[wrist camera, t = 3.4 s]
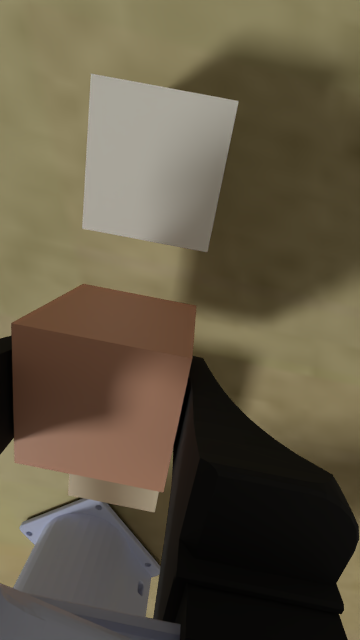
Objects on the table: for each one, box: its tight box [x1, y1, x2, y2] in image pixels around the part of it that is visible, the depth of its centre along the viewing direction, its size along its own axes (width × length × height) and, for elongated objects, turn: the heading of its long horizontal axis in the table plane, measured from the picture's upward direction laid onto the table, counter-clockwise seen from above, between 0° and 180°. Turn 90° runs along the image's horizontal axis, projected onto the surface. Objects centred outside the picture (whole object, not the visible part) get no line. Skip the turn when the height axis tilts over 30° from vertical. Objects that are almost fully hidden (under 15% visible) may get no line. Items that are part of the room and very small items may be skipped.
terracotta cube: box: [11, 284, 196, 492], centre depth 11 cm, size 5×5×5 cm
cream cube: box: [82, 74, 239, 252], centre depth 12 cm, size 5×5×5 cm
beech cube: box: [68, 474, 159, 512], centre depth 17 cm, size 5×5×5 cm
